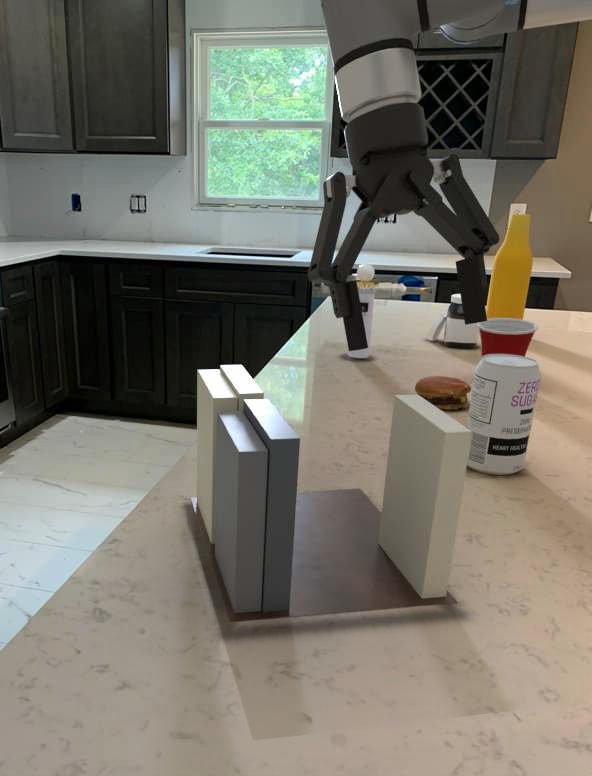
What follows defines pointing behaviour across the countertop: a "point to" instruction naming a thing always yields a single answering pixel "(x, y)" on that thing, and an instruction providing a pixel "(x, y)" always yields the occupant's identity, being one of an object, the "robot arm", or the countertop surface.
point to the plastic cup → (506, 336)
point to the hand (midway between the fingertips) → (418, 336)
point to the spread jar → (455, 327)
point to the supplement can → (502, 412)
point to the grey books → (256, 505)
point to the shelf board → (333, 560)
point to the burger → (444, 392)
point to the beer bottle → (511, 272)
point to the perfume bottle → (365, 305)
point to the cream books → (216, 396)
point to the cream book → (423, 492)
